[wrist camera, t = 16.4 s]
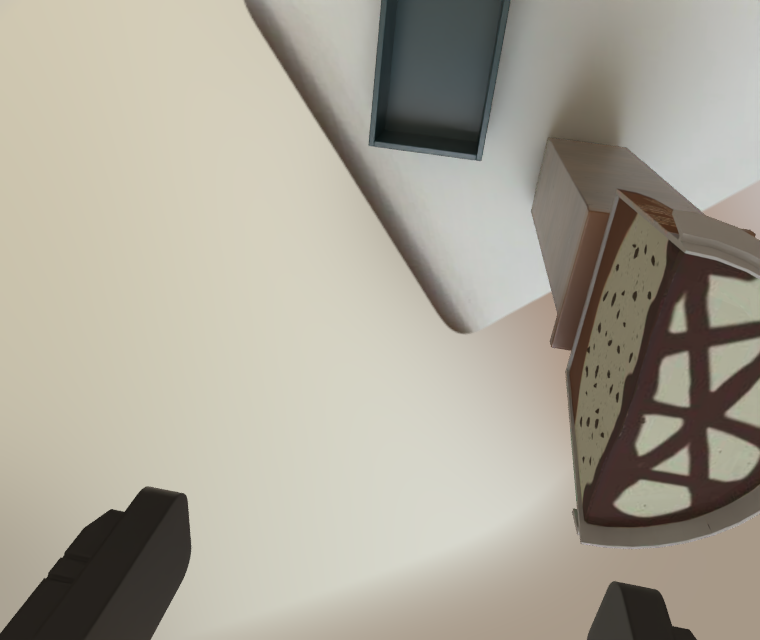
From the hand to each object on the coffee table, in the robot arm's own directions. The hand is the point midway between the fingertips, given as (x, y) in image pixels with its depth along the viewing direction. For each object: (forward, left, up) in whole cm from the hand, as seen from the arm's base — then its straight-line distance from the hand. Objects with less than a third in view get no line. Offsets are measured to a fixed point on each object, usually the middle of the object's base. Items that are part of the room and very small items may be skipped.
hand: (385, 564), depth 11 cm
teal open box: (+2, -8, -40) cm, 41 cm away
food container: (-10, +1, -18) cm, 21 cm away
